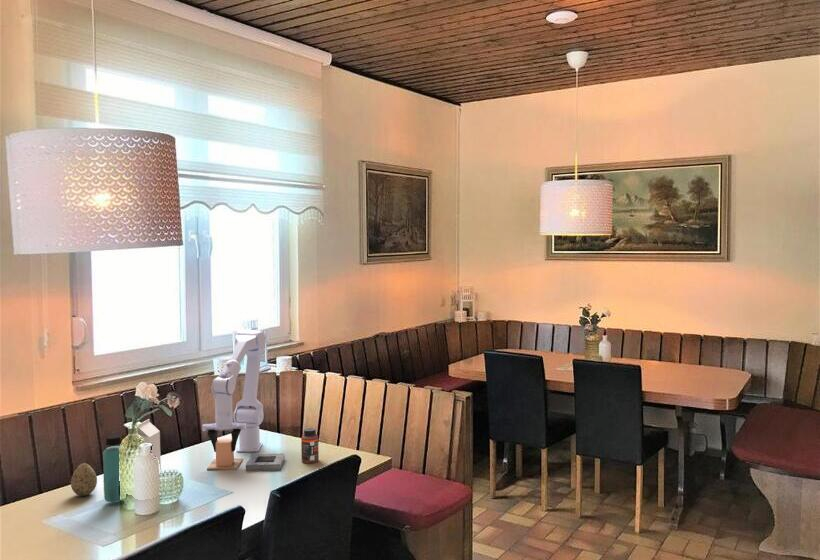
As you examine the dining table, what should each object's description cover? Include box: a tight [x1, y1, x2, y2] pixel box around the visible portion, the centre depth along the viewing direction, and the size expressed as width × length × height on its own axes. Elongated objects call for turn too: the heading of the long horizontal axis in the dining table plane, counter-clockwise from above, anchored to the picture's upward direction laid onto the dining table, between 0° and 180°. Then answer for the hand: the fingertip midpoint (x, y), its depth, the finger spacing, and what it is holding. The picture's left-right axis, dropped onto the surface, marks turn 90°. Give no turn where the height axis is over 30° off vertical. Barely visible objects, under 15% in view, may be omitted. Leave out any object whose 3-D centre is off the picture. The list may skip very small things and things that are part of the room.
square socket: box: [245, 453, 286, 472], centre depth 231 cm, size 12×12×2 cm
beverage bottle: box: [102, 434, 122, 503], centre depth 198 cm, size 6×7×20 cm
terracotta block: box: [215, 437, 235, 466], centre depth 231 cm, size 5×5×8 cm
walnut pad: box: [206, 458, 244, 471], centre depth 231 cm, size 10×10×1 cm
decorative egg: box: [70, 462, 98, 497], centre depth 204 cm, size 7×7×10 cm
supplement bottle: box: [300, 427, 320, 464], centre depth 235 cm, size 6×6×11 cm
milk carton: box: [138, 418, 162, 471], centre depth 218 cm, size 7×7×19 cm
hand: (224, 450), depth 231 cm, fingers open, 5 cm apart
